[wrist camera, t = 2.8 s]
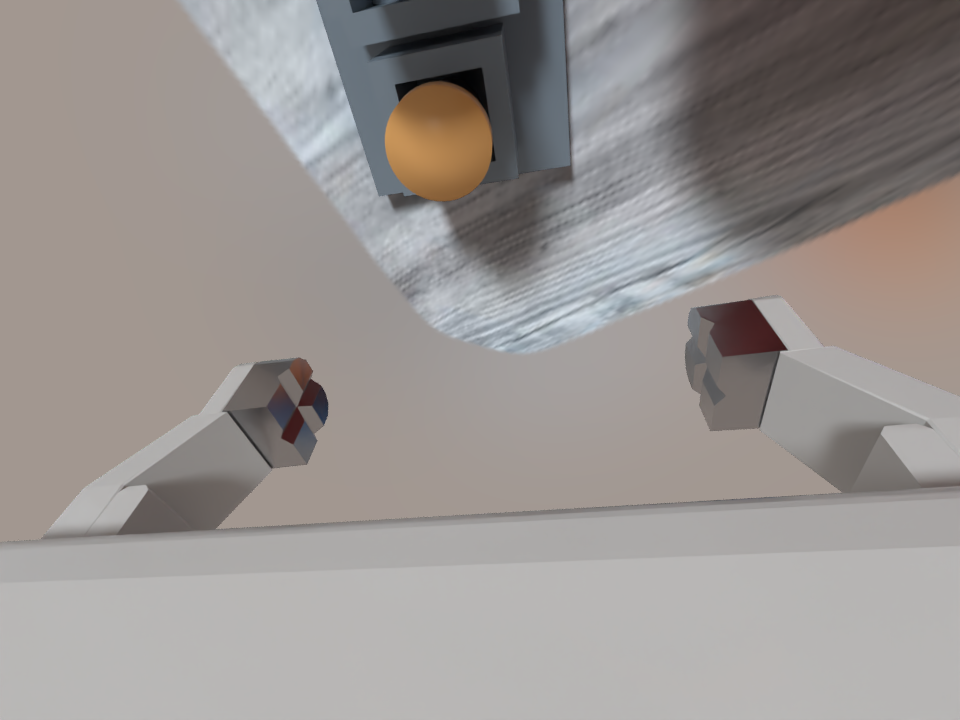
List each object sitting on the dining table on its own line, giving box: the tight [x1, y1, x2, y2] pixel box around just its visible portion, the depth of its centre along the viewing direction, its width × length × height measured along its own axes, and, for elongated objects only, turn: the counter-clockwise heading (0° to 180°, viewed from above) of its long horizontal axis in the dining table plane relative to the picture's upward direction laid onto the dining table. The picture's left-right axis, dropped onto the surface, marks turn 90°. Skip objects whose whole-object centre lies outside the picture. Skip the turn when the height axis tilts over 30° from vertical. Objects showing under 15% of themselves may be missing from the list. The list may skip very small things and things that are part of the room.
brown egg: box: [385, 78, 493, 201], centre depth 21 cm, size 4×4×6 cm
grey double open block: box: [316, 0, 571, 196], centre depth 21 cm, size 18×12×6 cm, turn 10°
